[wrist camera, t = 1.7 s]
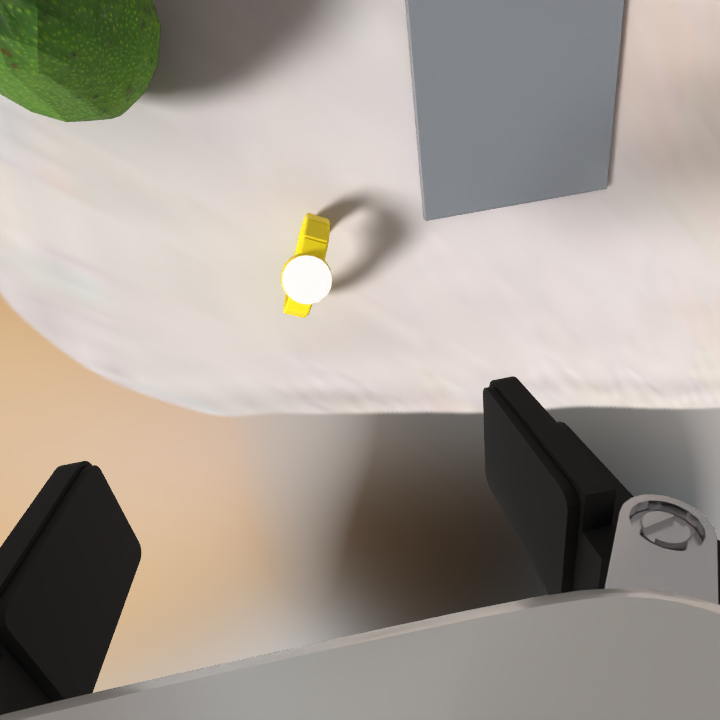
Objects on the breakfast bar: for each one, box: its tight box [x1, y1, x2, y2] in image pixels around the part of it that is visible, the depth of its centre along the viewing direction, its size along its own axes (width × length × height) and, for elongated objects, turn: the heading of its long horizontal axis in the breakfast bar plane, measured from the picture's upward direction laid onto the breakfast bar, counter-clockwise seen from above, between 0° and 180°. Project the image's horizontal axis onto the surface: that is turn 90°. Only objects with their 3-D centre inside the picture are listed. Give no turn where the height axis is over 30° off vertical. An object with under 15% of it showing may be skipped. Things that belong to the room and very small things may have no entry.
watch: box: [281, 213, 332, 318], centre depth 28 cm, size 6×3×6 cm, turn 163°
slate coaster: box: [405, 0, 624, 221], centre depth 27 cm, size 12×12×1 cm
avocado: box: [0, 0, 161, 122], centre depth 18 cm, size 8×8×12 cm
